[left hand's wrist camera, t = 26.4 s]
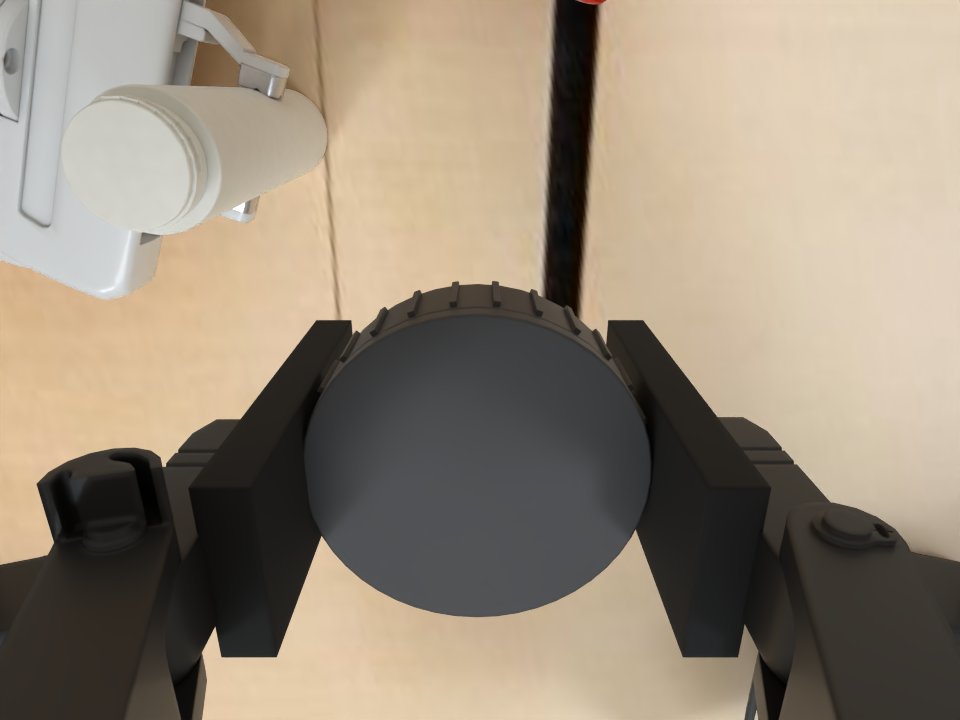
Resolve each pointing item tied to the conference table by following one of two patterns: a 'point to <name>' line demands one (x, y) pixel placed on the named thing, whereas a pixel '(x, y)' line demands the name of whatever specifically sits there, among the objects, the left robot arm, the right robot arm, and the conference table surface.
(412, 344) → the lid
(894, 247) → the conference table surface
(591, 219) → the conference table surface
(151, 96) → the jar
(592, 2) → the fish
